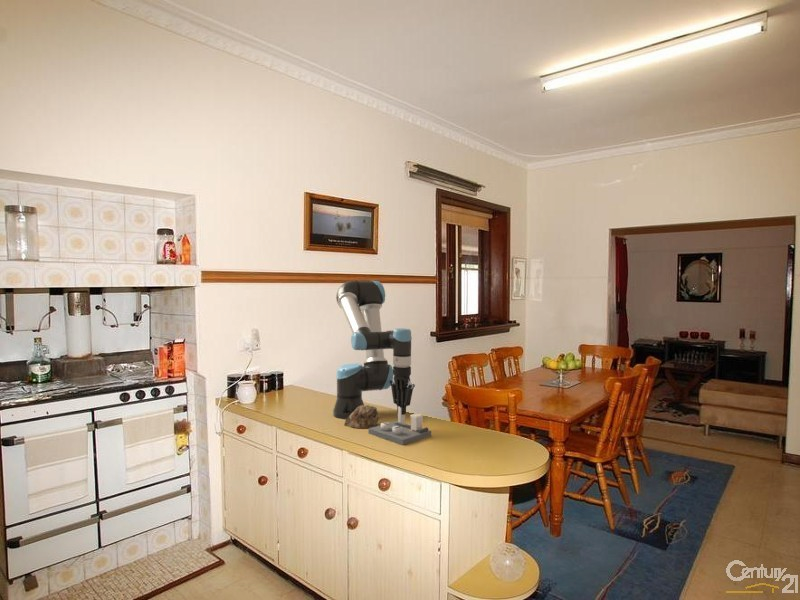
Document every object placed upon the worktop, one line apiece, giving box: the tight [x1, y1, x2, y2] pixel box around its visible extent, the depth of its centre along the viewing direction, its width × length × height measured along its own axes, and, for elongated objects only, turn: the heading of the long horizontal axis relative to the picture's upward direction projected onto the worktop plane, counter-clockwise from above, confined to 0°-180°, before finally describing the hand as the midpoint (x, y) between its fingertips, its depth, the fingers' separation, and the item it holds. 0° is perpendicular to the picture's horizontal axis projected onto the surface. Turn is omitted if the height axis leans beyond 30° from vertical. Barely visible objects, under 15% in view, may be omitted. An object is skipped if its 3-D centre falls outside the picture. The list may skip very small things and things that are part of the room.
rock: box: [343, 404, 380, 429], centre depth 206 cm, size 14×9×10 cm
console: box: [367, 420, 432, 446], centre depth 193 cm, size 20×16×5 cm
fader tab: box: [409, 412, 424, 431], centre depth 193 cm, size 3×4×6 cm
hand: (401, 421), depth 200 cm, fingers closed
